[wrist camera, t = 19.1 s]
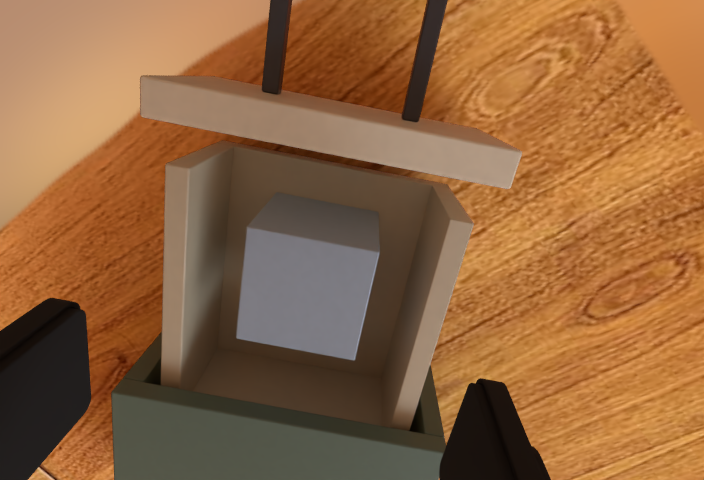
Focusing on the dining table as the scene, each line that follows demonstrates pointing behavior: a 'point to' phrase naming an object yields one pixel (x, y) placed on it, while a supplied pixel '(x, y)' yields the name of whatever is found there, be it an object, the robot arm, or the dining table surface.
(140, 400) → the cabinet
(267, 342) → the block
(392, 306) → the drawer
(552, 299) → the dining table surface
